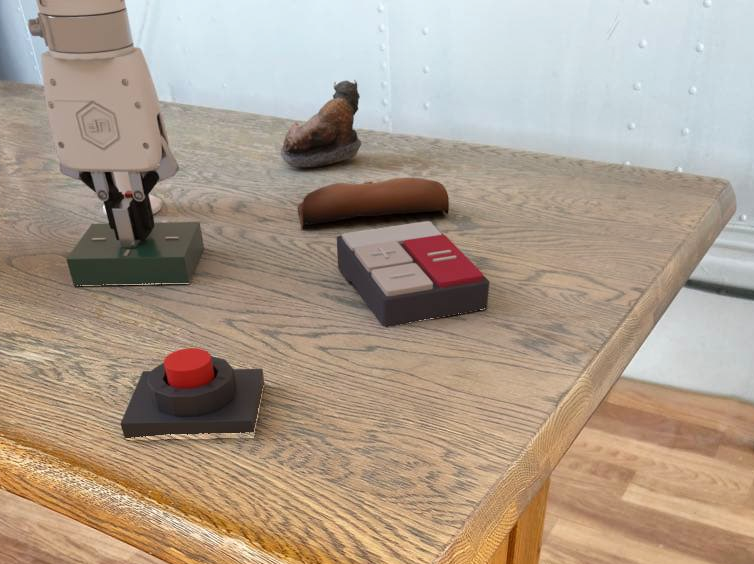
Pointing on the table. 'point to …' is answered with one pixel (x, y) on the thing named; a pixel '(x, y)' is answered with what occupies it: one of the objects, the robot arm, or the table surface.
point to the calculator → (410, 273)
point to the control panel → (137, 256)
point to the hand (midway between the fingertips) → (134, 234)
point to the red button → (189, 368)
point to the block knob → (125, 222)
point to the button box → (194, 403)
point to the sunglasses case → (372, 200)
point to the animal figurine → (325, 132)
